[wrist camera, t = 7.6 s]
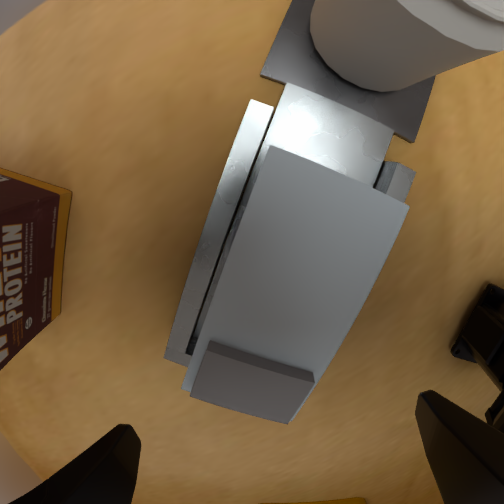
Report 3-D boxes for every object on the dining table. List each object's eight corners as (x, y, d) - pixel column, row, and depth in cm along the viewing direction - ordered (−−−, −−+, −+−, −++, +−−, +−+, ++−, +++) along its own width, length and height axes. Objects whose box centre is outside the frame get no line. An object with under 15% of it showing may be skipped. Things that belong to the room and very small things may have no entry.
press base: (445, 24, 14) (466, 11, 12) (299, 375, 23) (303, 401, 20) (312, -40, 14) (318, -63, 11) (170, 332, 22) (159, 356, 19)
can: (410, -2, 14) (508, -88, 2) (429, 99, 16) (574, 69, 4) (300, -13, 14) (329, -148, 3) (314, 93, 16) (389, 4, 5)
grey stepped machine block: (366, 189, 17) (418, 210, 11) (286, 357, 21) (292, 432, 14) (268, 148, 17) (270, 143, 10) (201, 329, 20) (177, 399, 14)
